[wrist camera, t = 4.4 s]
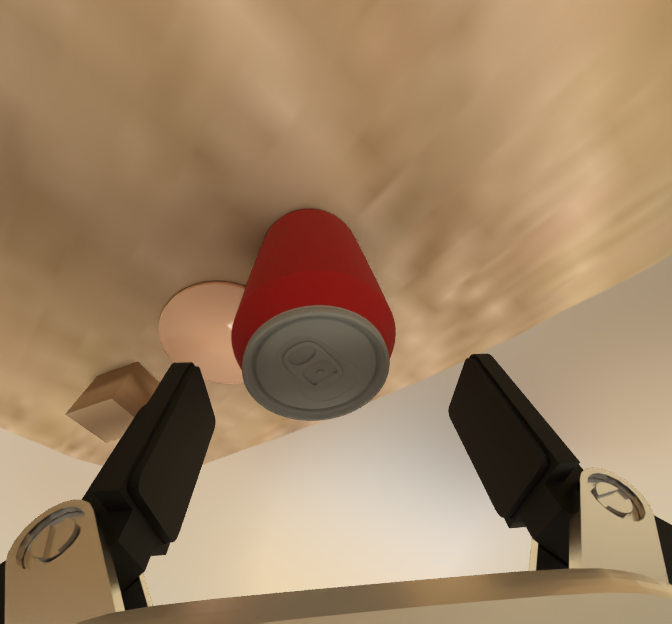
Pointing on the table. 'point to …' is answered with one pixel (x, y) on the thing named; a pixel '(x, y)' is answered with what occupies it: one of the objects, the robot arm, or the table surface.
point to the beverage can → (312, 321)
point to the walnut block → (113, 401)
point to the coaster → (203, 329)
